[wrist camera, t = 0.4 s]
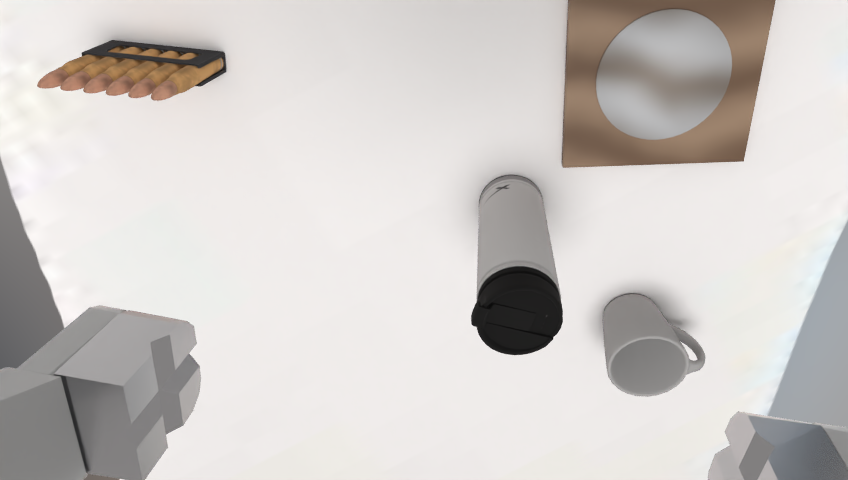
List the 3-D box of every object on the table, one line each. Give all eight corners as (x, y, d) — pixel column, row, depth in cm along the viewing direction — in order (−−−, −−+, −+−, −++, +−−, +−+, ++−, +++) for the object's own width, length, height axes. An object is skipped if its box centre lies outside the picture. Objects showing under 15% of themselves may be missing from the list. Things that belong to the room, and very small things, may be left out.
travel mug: (486, 166, 57) (485, 279, 40) (551, 183, 58) (579, 304, 40) (468, 221, 60) (460, 349, 43) (530, 237, 61) (547, 371, 43)
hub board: (569, -19, 49) (570, -17, 48) (776, -34, 47) (783, -32, 46) (561, 163, 56) (563, 168, 55) (739, 157, 55) (744, 162, 53)
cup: (603, 280, 62) (619, 330, 55) (698, 293, 62) (727, 346, 55) (586, 336, 66) (598, 391, 59) (675, 349, 66) (699, 405, 59)
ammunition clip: (225, 51, 54) (163, 87, 44) (226, 72, 55) (166, 111, 45) (111, 40, 55) (23, 72, 44) (114, 60, 56) (29, 96, 45)
